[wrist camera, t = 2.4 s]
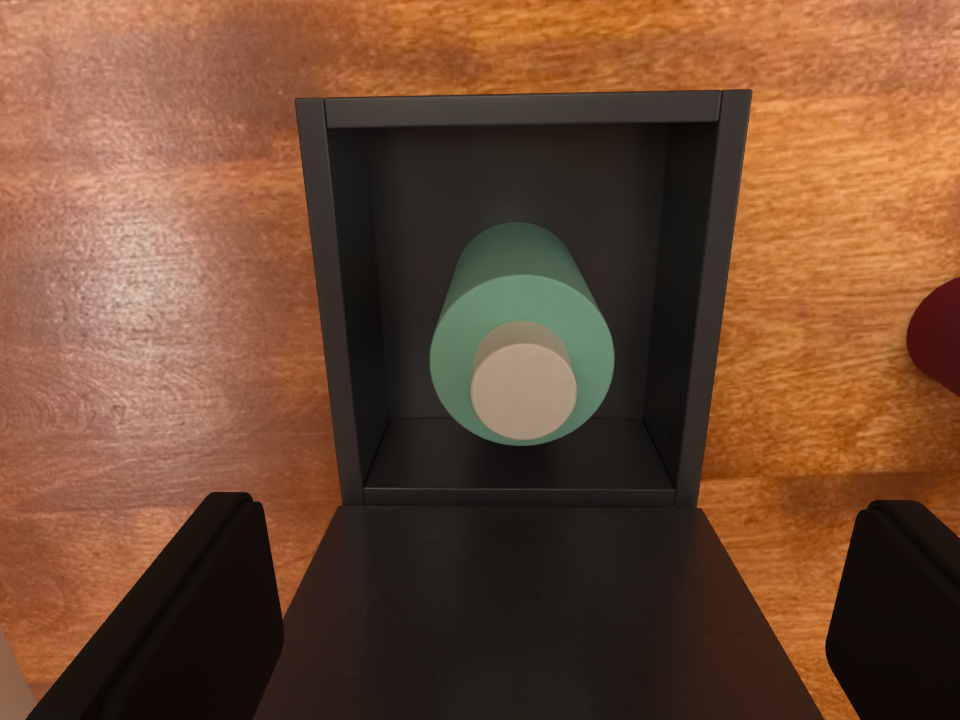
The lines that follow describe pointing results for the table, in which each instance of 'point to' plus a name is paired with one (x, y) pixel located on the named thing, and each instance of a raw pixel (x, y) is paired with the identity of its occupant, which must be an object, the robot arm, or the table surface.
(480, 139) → the open gift box
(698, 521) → the lid
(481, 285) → the bottle
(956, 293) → the cup
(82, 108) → the table surface
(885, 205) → the table surface
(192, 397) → the table surface
